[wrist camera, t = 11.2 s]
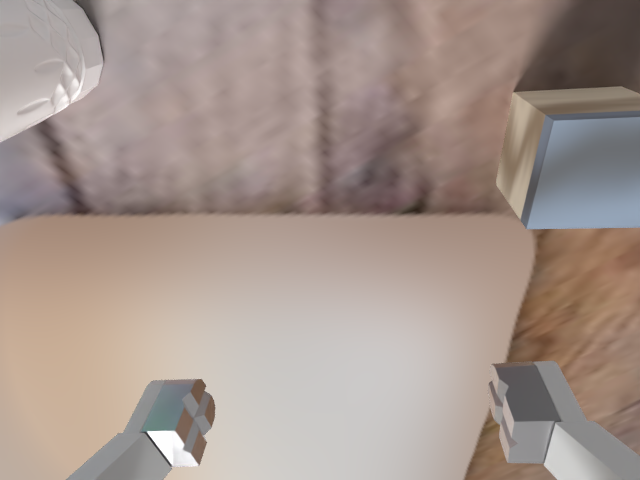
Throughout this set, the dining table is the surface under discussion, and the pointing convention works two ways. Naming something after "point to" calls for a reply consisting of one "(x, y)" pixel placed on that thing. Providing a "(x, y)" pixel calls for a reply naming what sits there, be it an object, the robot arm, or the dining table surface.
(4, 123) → the white cup
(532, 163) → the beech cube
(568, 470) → the robot arm
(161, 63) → the dining table surface
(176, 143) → the dining table surface
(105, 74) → the dining table surface
